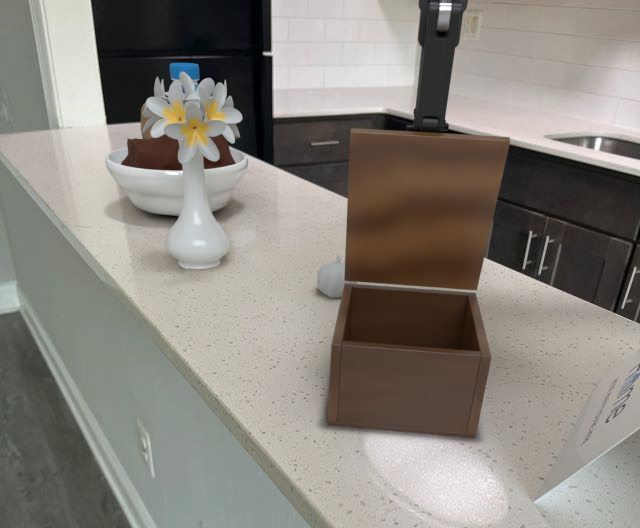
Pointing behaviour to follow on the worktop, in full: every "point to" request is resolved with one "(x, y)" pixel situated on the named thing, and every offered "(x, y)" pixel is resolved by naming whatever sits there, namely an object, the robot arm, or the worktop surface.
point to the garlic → (332, 278)
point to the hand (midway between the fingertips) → (418, 204)
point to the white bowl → (172, 173)
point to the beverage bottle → (188, 68)
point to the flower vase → (194, 162)
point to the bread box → (408, 361)
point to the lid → (421, 206)
